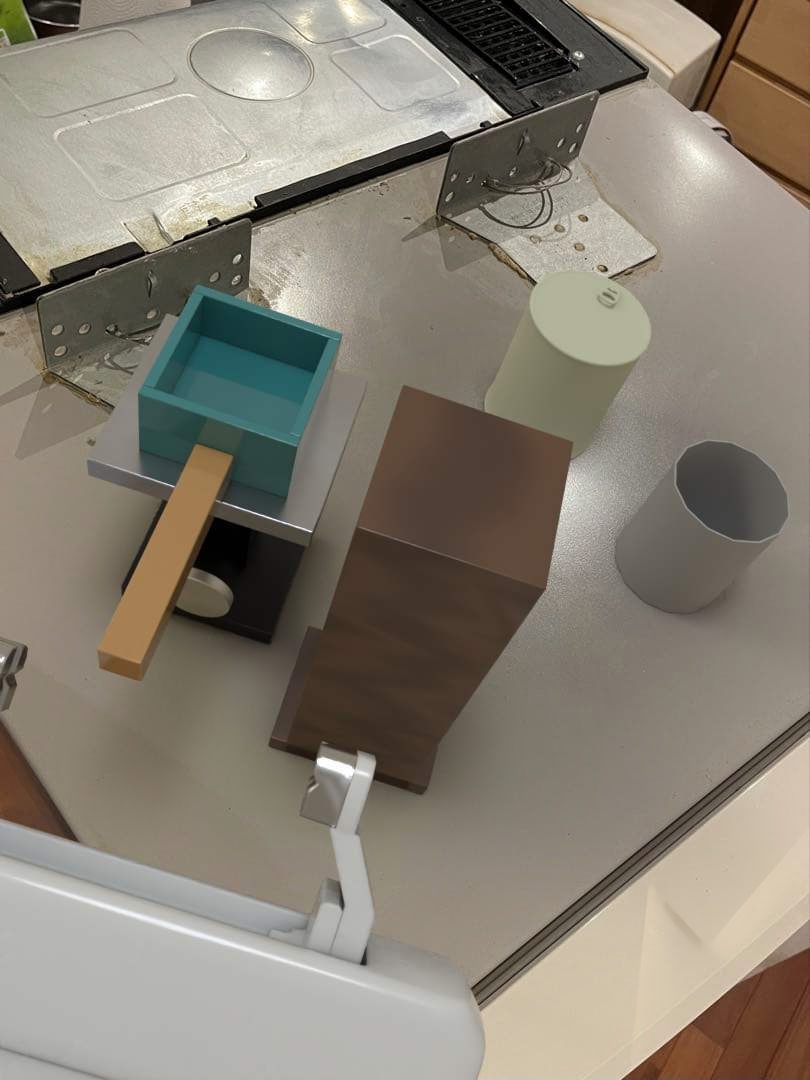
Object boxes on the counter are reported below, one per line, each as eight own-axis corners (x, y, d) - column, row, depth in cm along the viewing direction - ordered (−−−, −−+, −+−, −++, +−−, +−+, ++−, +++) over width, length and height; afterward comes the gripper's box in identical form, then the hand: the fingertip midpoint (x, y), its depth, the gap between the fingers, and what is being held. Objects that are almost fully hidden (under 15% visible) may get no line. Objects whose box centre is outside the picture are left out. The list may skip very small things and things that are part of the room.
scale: (100, 605, 63) (86, 458, 50) (164, 474, 69) (166, 312, 56) (279, 663, 64) (313, 533, 50) (327, 528, 70) (368, 380, 56)
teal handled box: (33, 650, 44) (22, 603, 40) (194, 342, 55) (197, 283, 51) (205, 705, 44) (210, 663, 41) (330, 388, 56) (343, 333, 52)
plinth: (268, 746, 61) (331, 518, 39) (306, 635, 65) (381, 376, 43) (422, 795, 61) (570, 597, 39) (449, 681, 66) (595, 448, 44)
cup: (593, 550, 74) (649, 473, 65) (660, 499, 78) (721, 421, 69) (675, 634, 71) (744, 565, 63) (740, 577, 75) (812, 505, 67)
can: (611, 414, 81) (675, 311, 71) (560, 483, 76) (622, 382, 66) (518, 354, 83) (568, 245, 73) (462, 418, 78) (508, 310, 68)
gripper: (400, 1463, 22) (588, 847, 22) (-533, 1199, 21) (-295, 568, 22) (386, 1266, 28) (533, 791, 29) (-329, 1057, 27) (-152, 573, 28)
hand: (172, 693), depth 25 cm, fingers open, 8 cm apart
